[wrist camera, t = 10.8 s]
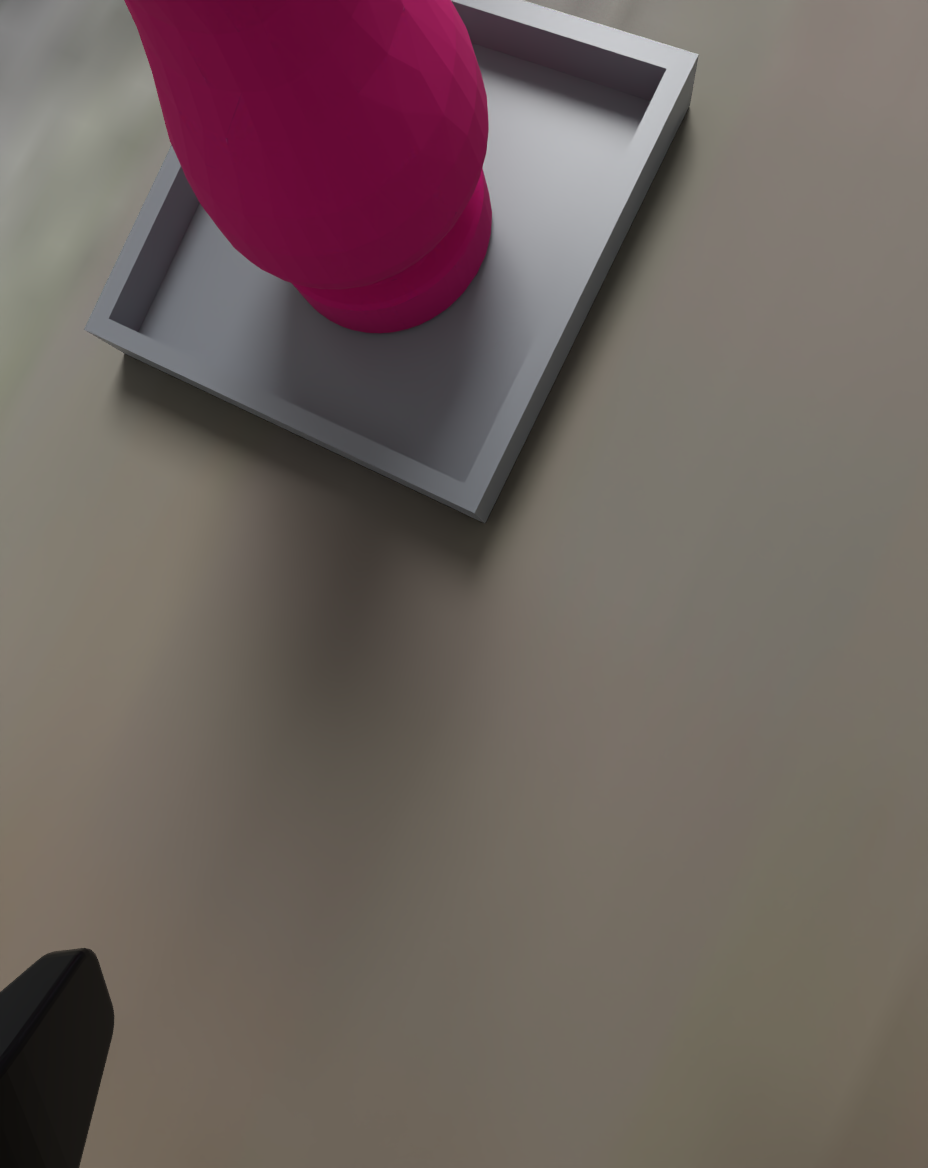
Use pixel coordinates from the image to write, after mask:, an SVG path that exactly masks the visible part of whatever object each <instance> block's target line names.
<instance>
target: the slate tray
mask: <svg viewBox="0 0 928 1168" xmlns="http://www.w3.org/2000/svg"><path fill="white" fill-rule="evenodd" d="M451 1H452V3H453V5H454V6H455V8H456V10H457V12H458V14H459V15H460V17H461V19H462V21H463V23H464V24H465V26H466V28H467V31H468V34H469V37H470V40H471V43H472V46H473V49H474V53H475V56H476V59H477V62H478V65H479V68H480V71H481V74H482V78H483V82H484V86H485V91H486V95H487V106H488V122H489V132H488V142H487V151H486V156H485V160H484V164H483V167H482V168H483V172H484V176H485V180H486V183H487V187H488V191H489V195H490V202H491V209H492V224H491V235H490V239H489V243H488V248H487V252H486V255H485V257H484V260H483V262H482V264H481V266H480V268H479V271H478V273H477V274H476V276H475V277H474V279H473V280H472V282H471V283H470V284H469V286H468V287H467V289H466V290H465V291H464V293H463V294H462V295H461V296H460V297H459V298H458V299H457V300H456V301H455V302H454V303H453V304H452V305H451V306H449V307H448V308H447V309H446V310H445V311H443V312H442V313H440V314H438V315H437V316H435V317H434V318H432V319H430V320H429V321H427V322H425V323H423V324H421V325H418V326H415V327H412V328H409V329H405V330H401V331H397V332H391V333H365V332H360V331H355V330H351V329H348V328H345V327H342V326H340V325H338V324H336V323H334V322H332V321H330V320H328V319H327V318H326V317H324V316H323V315H321V314H320V313H319V312H317V311H316V310H315V309H314V308H313V307H312V306H311V305H310V304H309V303H308V301H307V300H306V299H305V298H304V297H303V296H302V295H301V293H300V292H299V291H298V290H297V289H296V288H295V287H294V285H293V284H292V283H290V282H287V281H284V280H282V279H280V278H278V277H276V276H274V275H272V274H270V273H268V272H266V271H264V270H262V269H260V268H259V267H257V266H256V265H254V264H253V263H251V262H250V261H249V260H248V259H247V258H245V257H244V256H243V255H242V254H241V253H240V252H238V251H237V250H236V249H235V248H234V247H233V246H232V245H231V243H230V242H229V241H228V240H227V238H226V237H225V236H224V235H223V233H222V232H221V231H220V230H219V228H218V227H217V226H216V224H215V223H214V222H213V220H212V219H211V218H210V216H209V215H208V214H207V212H206V211H205V210H204V208H203V207H202V206H201V204H200V202H199V201H198V199H197V197H196V195H195V193H194V192H193V190H192V188H191V186H190V184H189V182H188V181H187V178H186V176H185V174H184V172H183V169H182V167H181V165H180V162H179V160H178V158H177V156H176V153H175V151H174V149H173V146H172V145H171V147H170V149H169V152H168V154H167V156H166V158H165V160H164V162H163V164H162V166H161V168H160V171H159V173H158V175H157V177H156V179H155V181H154V183H153V185H152V187H151V189H150V192H149V194H148V196H147V198H146V200H145V202H144V204H143V206H142V208H141V211H140V213H139V215H138V217H137V219H136V221H135V223H134V225H133V227H132V230H131V232H130V234H129V236H128V238H127V240H126V242H125V244H124V246H123V249H122V251H121V253H120V255H119V257H118V259H117V261H116V263H115V265H114V267H113V270H112V272H111V274H110V276H109V278H108V280H107V282H106V284H105V286H104V289H103V291H102V293H101V295H100V297H99V299H98V301H97V303H96V305H95V308H94V310H93V312H92V314H91V316H90V318H89V320H88V322H87V324H86V327H85V329H84V330H86V331H87V332H89V333H91V334H93V335H94V336H96V337H98V338H99V339H101V340H103V341H104V342H106V343H108V344H109V345H111V346H113V347H114V348H116V349H118V350H120V351H121V352H123V353H125V354H127V355H129V356H131V357H133V358H136V359H138V360H140V361H142V362H144V363H146V364H148V365H150V366H152V367H155V368H157V369H159V370H161V371H163V372H165V373H167V374H169V375H171V376H174V377H176V378H178V379H180V380H182V381H184V382H186V383H188V384H191V385H193V386H195V387H197V388H199V389H201V390H203V391H205V392H207V393H210V394H212V395H214V396H216V397H218V398H220V399H222V400H224V401H227V402H229V403H231V404H233V405H235V406H237V407H239V408H241V409H243V410H246V411H248V412H250V413H252V414H254V415H256V416H258V417H260V418H263V419H265V420H267V421H269V422H271V423H273V424H275V425H277V426H279V427H282V428H284V429H286V430H288V431H290V432H292V433H294V434H296V435H299V436H301V437H303V438H305V439H307V440H309V441H311V442H313V443H315V444H318V445H320V446H322V447H324V448H326V449H328V450H330V451H332V452H335V453H337V454H339V455H341V456H343V457H345V458H347V459H349V460H351V461H354V462H356V463H358V464H360V465H362V466H364V467H366V468H368V469H371V470H373V471H375V472H377V473H379V474H381V475H383V476H385V477H387V478H390V479H392V480H394V481H396V482H398V483H400V484H402V485H404V486H407V487H409V488H411V489H413V490H415V491H417V492H419V493H421V494H423V495H426V496H428V497H430V498H432V499H434V500H436V501H438V502H440V503H443V504H445V505H447V506H449V507H451V508H453V509H455V510H457V511H459V512H462V513H464V514H466V515H468V516H470V517H472V518H474V519H476V520H479V521H481V522H483V523H486V521H487V519H488V517H489V514H490V512H491V510H492V508H493V506H494V504H495V502H496V500H497V498H498V496H499V494H500V492H501V490H502V488H503V486H504V484H505V482H506V480H507V478H508V476H509V474H510V472H511V470H512V467H513V465H514V463H515V461H516V459H517V457H518V455H519V453H520V451H521V449H522V447H523V445H524V443H525V441H526V439H527V437H528V435H529V433H530V431H531V429H532V427H533V425H534V422H535V420H536V418H537V416H538V414H539V412H540V410H541V408H542V406H543V404H544V402H545V400H546V398H547V396H548V394H549V392H550V390H551V388H552V386H553V384H554V382H555V380H556V377H557V375H558V373H559V371H560V369H561V367H562V365H563V363H564V361H565V359H566V357H567V355H568V353H569V351H570V349H571V347H572V345H573V343H574V341H575V339H576V337H577V335H578V333H579V330H580V328H581V326H582V324H583V322H584V320H585V318H586V316H587V314H588V312H589V310H590V308H591V306H592V304H593V302H594V300H595V298H596V296H597V294H598V292H599V290H600V288H601V285H602V283H603V281H604V279H605V277H606V275H607V273H608V271H609V269H610V267H611V265H612V263H613V261H614V259H615V257H616V255H617V253H618V251H619V249H620V247H621V245H622V243H623V240H624V238H625V236H626V234H627V232H628V230H629V228H630V226H631V224H632V222H633V220H634V218H635V216H636V214H637V212H638V210H639V208H640V206H641V204H642V202H643V200H644V198H645V196H646V193H647V191H648V189H649V187H650V185H651V183H652V181H653V179H654V177H655V175H656V173H657V171H658V169H659V167H660V165H661V163H662V161H663V159H664V157H665V155H666V153H667V151H668V148H669V146H670V144H671V142H672V140H673V138H674V136H675V134H676V132H677V130H678V128H679V126H680V124H681V122H682V120H683V118H684V116H685V114H686V112H687V110H688V108H689V106H690V101H691V95H692V90H693V84H694V78H695V72H696V67H697V61H698V55H699V54H696V53H692V52H689V51H686V50H683V49H679V48H676V47H673V46H670V45H666V44H663V43H660V42H657V41H653V40H650V39H647V38H644V37H640V36H637V35H634V34H631V33H627V32H624V31H621V30H618V29H614V28H611V27H608V26H605V25H602V24H598V23H595V22H592V21H589V20H585V19H582V18H579V17H576V16H572V15H569V14H566V13H563V12H559V11H556V10H553V9H550V8H546V7H543V6H540V5H537V4H533V3H530V2H527V1H524V0H451Z"/></svg>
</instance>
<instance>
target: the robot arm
mask: <svg viewBox="0 0 928 1168" xmlns="http://www.w3.org/2000/svg"><path fill="white" fill-rule="evenodd" d="M113 1028H114V1010H113V1005H112V1002H111V999H110V996H109V993H108V989H107V986H106V983H105V980H104V977H103V974H102V971H101V968H100V965H99V961H98V959H97V957H96V954H95V953H94V952H93V951H92V950H90V949H86V948H80V949H72V950H63V951H55V952H51V953H48V954H46V955H44V956H43V957H41V958H40V959H39V960H37V961H36V962H35V963H34V964H33V965H31V966H30V967H29V968H28V969H27V970H26V971H24V972H23V973H22V974H21V975H20V976H19V977H17V978H16V979H15V980H14V981H13V982H12V983H10V984H9V985H8V986H7V987H6V988H4V989H3V990H2V991H1V992H0V1168H79V1166H80V1162H81V1158H82V1154H83V1150H84V1146H85V1142H86V1138H87V1134H88V1130H89V1126H90V1123H91V1119H92V1115H93V1111H94V1107H95V1103H96V1099H97V1095H98V1091H99V1087H100V1083H101V1079H102V1075H103V1071H104V1067H105V1063H106V1059H107V1055H108V1051H109V1047H110V1043H111V1039H112V1035H113Z"/></svg>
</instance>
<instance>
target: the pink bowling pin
mask: <svg viewBox="0 0 928 1168" xmlns="http://www.w3.org/2000/svg"><path fill="white" fill-rule="evenodd" d="M125 3H126V5H127V7H128V9H129V11H130V13H131V15H132V18H133V20H134V22H135V24H136V26H137V29H138V32H139V35H140V38H141V41H142V43H143V46H144V49H145V52H146V55H147V58H148V61H149V64H150V67H151V70H152V73H153V77H154V81H155V85H156V89H157V93H158V97H159V101H160V105H161V109H162V112H163V116H164V120H165V124H166V128H167V132H168V135H169V139H170V142H171V144H172V146H173V149H174V151H175V153H176V156H177V158H178V160H179V162H180V165H181V167H182V169H183V172H184V174H185V176H186V178H187V181H188V182H189V184H190V186H191V188H192V190H193V192H194V193H195V195H196V197H197V199H198V201H199V202H200V204H201V206H202V207H203V208H204V210H205V211H206V212H207V214H208V215H209V216H210V218H211V219H212V220H213V222H214V223H215V224H216V226H217V227H218V228H219V230H220V231H221V232H222V233H223V235H224V236H225V237H226V238H227V240H228V241H229V242H230V243H231V245H232V246H233V247H234V248H235V249H236V250H237V251H238V252H240V253H241V254H242V255H243V256H244V257H245V258H247V259H248V260H249V261H250V262H251V263H253V264H254V265H256V266H257V267H259V268H260V269H262V270H264V271H266V272H268V273H270V274H272V275H274V276H276V277H278V278H280V279H282V280H284V281H287V282H290V283H292V284H293V285H294V287H295V288H296V289H297V290H298V291H299V292H300V293H301V295H302V296H303V297H304V298H305V299H306V300H307V301H308V303H309V304H310V305H311V306H312V307H313V308H314V309H315V310H316V311H317V312H319V313H320V314H321V315H323V316H324V317H326V318H327V319H328V320H330V321H332V322H334V323H336V324H338V325H340V326H342V327H345V328H348V329H351V330H355V331H360V332H365V333H391V332H397V331H401V330H405V329H409V328H412V327H415V326H418V325H421V324H423V323H425V322H427V321H429V320H430V319H432V318H434V317H435V316H437V315H438V314H440V313H442V312H443V311H445V310H446V309H447V308H448V307H449V306H451V305H452V304H453V303H454V302H455V301H456V300H457V299H458V298H459V297H460V296H461V295H462V294H463V293H464V291H465V290H466V289H467V287H468V286H469V284H470V283H471V282H472V280H473V279H474V277H475V276H476V274H477V273H478V271H479V268H480V266H481V264H482V262H483V260H484V257H485V255H486V252H487V248H488V243H489V239H490V235H491V224H492V209H491V202H490V195H489V191H488V187H487V183H486V180H485V176H484V172H483V168H482V167H483V164H484V160H485V156H486V151H487V142H488V132H489V122H488V106H487V95H486V91H485V86H484V82H483V78H482V74H481V71H480V68H479V65H478V62H477V59H476V56H475V53H474V49H473V46H472V43H471V40H470V37H469V34H468V31H467V28H466V26H465V24H464V23H463V21H462V19H461V17H460V15H459V14H458V12H457V10H456V8H455V6H454V5H453V3H452V1H451V0H125Z"/></svg>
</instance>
